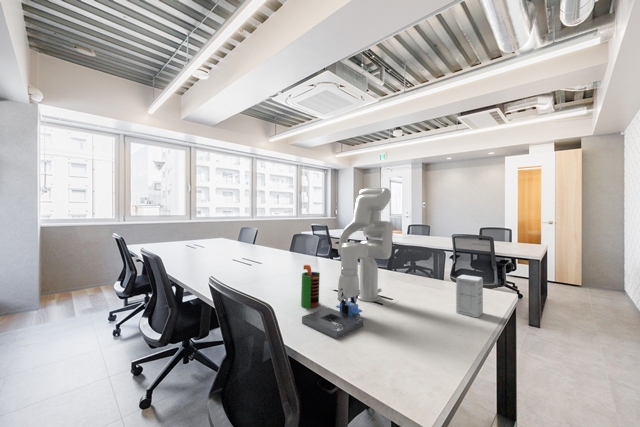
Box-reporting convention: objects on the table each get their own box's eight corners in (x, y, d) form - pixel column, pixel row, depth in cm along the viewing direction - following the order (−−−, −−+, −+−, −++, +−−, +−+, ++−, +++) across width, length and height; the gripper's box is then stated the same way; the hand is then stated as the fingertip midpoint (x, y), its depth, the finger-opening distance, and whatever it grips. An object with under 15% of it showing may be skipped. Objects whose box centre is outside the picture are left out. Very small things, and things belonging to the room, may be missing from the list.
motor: (316, 309, 132) (317, 267, 132) (298, 307, 134) (299, 266, 134) (320, 302, 142) (321, 263, 142) (304, 301, 144) (304, 263, 144)
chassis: (328, 313, 127) (328, 307, 127) (363, 326, 113) (363, 320, 113) (301, 322, 116) (302, 316, 116) (336, 339, 102) (336, 331, 102)
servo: (342, 311, 131) (342, 298, 131) (362, 318, 122) (362, 305, 122) (336, 313, 128) (336, 300, 128) (355, 320, 119) (355, 307, 119)
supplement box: (483, 312, 130) (483, 277, 130) (478, 318, 123) (478, 280, 123) (461, 307, 137) (461, 274, 137) (455, 312, 130) (455, 277, 130)
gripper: (354, 268, 133) (354, 305, 133) (330, 273, 122) (329, 314, 122) (367, 270, 128) (366, 309, 128) (343, 276, 116) (342, 319, 116)
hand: (348, 311), depth 125 cm, fingers closed on servo, 4 cm apart
